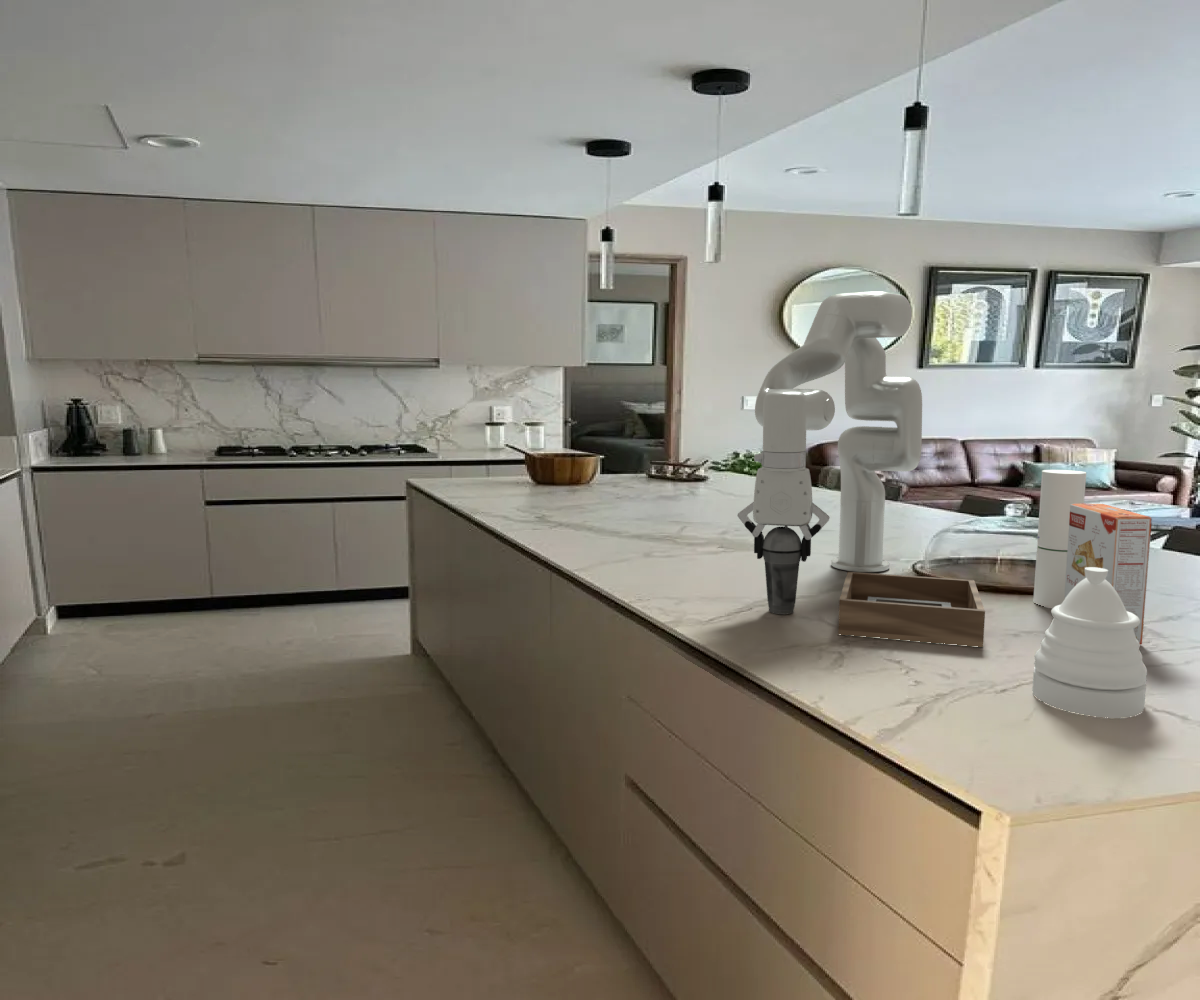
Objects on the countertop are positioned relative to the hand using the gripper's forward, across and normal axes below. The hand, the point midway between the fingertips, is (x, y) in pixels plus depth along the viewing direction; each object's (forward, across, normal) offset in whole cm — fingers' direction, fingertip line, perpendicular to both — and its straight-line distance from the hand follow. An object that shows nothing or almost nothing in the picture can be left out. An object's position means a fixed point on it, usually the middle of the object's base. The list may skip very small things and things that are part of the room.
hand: (782, 558), depth 154 cm
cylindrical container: (+11, +48, +22) cm, 54 cm away
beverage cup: (+10, 0, 0) cm, 10 cm away
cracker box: (+11, +52, +4) cm, 53 cm away
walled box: (+10, +22, 0) cm, 24 cm away
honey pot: (+10, +44, -30) cm, 54 cm away
